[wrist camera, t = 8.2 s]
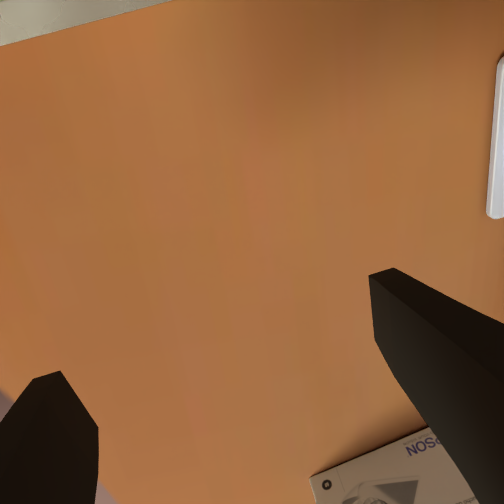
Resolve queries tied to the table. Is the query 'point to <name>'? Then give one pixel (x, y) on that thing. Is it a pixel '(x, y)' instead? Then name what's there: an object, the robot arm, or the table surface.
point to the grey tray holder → (57, 15)
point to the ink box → (396, 476)
